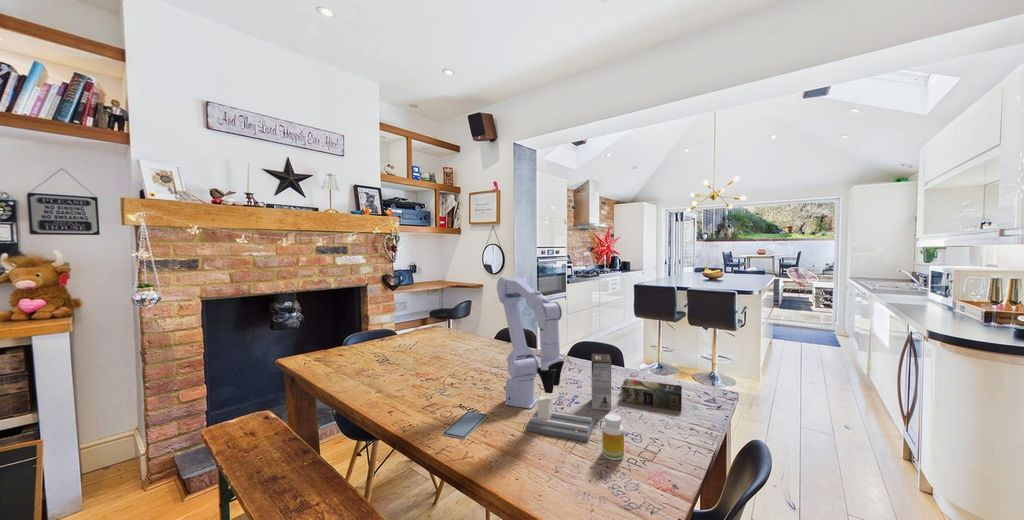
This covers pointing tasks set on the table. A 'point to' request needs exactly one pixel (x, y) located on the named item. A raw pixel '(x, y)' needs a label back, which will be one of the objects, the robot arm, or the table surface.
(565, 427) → the grey slider track
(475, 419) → the smartphone
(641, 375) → the table surface
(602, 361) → the coffee box
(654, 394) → the juice carton
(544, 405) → the fader tab
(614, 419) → the supplement bottle
